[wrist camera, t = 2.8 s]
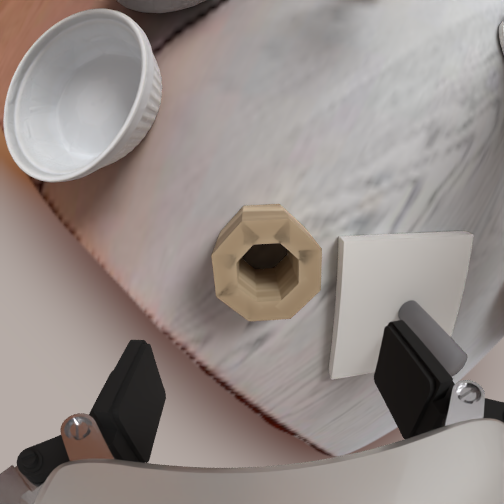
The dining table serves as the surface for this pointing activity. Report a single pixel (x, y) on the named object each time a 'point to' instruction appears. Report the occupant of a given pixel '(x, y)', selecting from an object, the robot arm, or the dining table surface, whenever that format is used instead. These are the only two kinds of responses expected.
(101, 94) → the ramekin
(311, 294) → the bead
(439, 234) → the post board
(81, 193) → the dining table surface
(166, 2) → the coffee pot
